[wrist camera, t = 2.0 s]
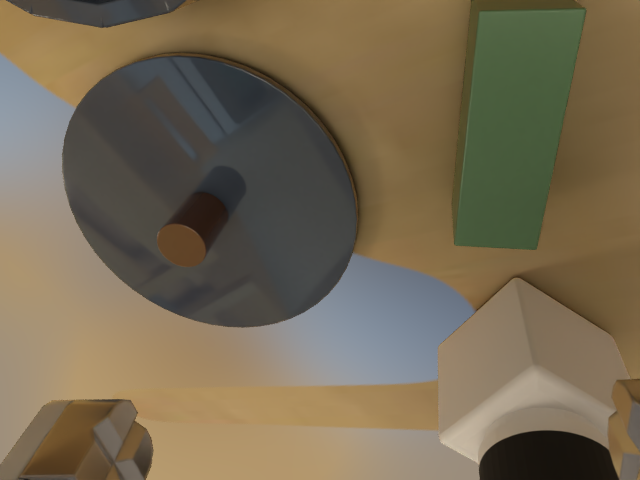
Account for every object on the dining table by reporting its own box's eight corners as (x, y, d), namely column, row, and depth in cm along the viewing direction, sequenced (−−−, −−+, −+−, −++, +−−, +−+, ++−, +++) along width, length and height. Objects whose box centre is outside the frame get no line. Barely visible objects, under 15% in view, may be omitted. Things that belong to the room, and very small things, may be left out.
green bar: (471, -6, 22) (478, 10, 18) (563, -9, 21) (587, 8, 18) (451, 204, 27) (453, 246, 24) (524, 207, 26) (537, 250, 23)
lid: (358, 47, 24) (344, 75, 20) (360, 325, 33) (351, 381, 29) (32, 51, 27) (-34, 75, 23) (117, 305, 36) (79, 352, 32)
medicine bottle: (435, 345, 32) (436, 539, 23) (515, 272, 29) (558, 468, 19) (525, 398, 34) (564, 606, 24) (614, 335, 30) (706, 551, 20)
